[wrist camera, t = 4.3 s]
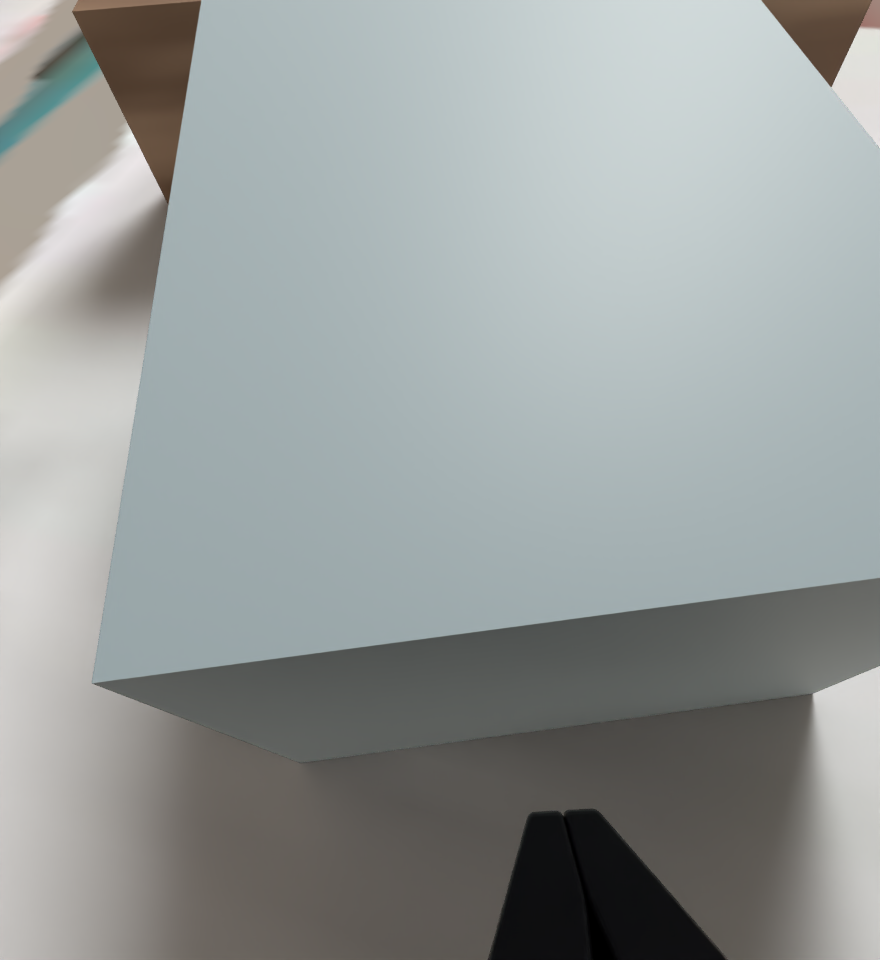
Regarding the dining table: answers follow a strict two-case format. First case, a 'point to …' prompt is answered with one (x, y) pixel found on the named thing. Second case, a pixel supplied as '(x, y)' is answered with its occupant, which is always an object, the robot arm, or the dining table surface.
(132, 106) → the walnut board
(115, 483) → the dining table surface
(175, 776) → the dining table surface
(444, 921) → the dining table surface
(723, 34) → the slate block
